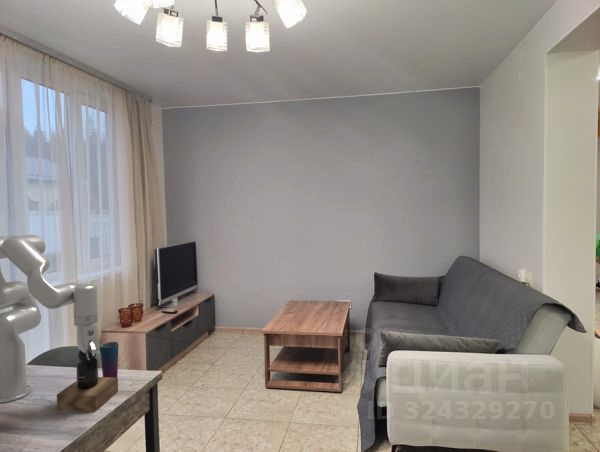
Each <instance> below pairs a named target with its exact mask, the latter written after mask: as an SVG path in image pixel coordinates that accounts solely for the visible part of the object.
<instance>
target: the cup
mask: <svg viewBox="0 0 600 452" xmlns="http://www.w3.org/2000/svg"><path fill="white" fill-rule="evenodd" d="M119 343H120V342H118V341H107V342H103V343H101V344H99V350H100V361H101V370H102V371H101V372H102V377H113V378H118V373H119V372H118V369H119V368H118V367H119Z"/></svg>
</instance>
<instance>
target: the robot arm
mask: <svg viewBox="0 0 600 452" xmlns="http://www.w3.org/2000/svg"><path fill="white" fill-rule="evenodd" d="M45 251H46V243H45V241H44V239H43V238H41V236H38V235H35V234H26V235H5V236H0V260H2V259H8V260H9V261H10V262H11V263H12V264H13V265H14V266H16V268H18V269H19V270H20V271H21V272H22V273H23V274H24V275H25V276H26V283H25V282H23V281H20V280H13V281H6V280H5V277H4V275H3V273H2V271H1V270H0V310H4V309H9V308H11V307H12V309H11V310H7V311H3V312H1V313H0V404H3V403H8V402H9V403H10V402H13V401H17V400H20V399H22V398H24V397H27V396H28V395H30V393H31V392H32V391H33V389H32V388H33V387H32V385H30V384H28V383H27V364H26V363H27V361H26V360H27V359H26V346H25V343H24V341H23V340H22V339H21V337H20V334H21V335H22V334H23V333H25V332H28V331H31V330H33V329H36V327H38V326H40V324H41V321H42V315H41V311H40V308H39V305H38V304H39V303H40V305H41V306H43V307H45V308H46V309H50V310H55V309H59V308H61V307H65V306H69V305H73V306H72V307H73V326H75V327H76V345H77V349H78V355H79V354H80V353H82V352H83V353H86V356H87V360H86V367H87V371H91V370H94V369H97V361H98V358H97V357H98V355H97V351H99V350H100V344H99V343H100V342H99V332H98V326H97V323H99V316H98V315H99V312H98V289H97V286H96V285H95V284H92V283H91V284H90V283H88V284H86V283H85V284H82V283H77V282H68V283H64V284H59V285H55V286H52V285H51V284H50V283H49V282H48V281H47V280H46V279H45V278H44V277H43V274H45V273H46V271H47V270H48V269H49V267H50V264H51V262H50V260H49V259H48V258H47V257H46V256H45V255H43V253H44V252H45ZM37 302H38V303H37ZM89 353H90V355H89ZM79 358H80V357H79V356H78V361H80V360H79Z"/></svg>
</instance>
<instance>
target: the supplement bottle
mask: <svg viewBox="0 0 600 452" xmlns="http://www.w3.org/2000/svg"><path fill="white" fill-rule="evenodd" d="M89 355H90V353H89ZM79 357H80V358H79ZM79 360H80V361H79ZM86 360H87V356H86V353H83V352H82V353H80V354H79V353H78V361H77V363H76V368H75V369H76V381H77V387H78V388H79V389H89V388H92V387H94V386H96V385H97V384H98V377H99V360H97V369H94V370H91V371H87V367H86Z"/></svg>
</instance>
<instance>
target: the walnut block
mask: <svg viewBox="0 0 600 452" xmlns="http://www.w3.org/2000/svg"><path fill="white" fill-rule="evenodd" d="M118 379H119V378H118V377H117V378H113V377H103V376H101V377H100V376H98V384H97V385H96V386H94V387H92V388H89V389H79V388H78V387H77V380H76V381H74V382H73V383H71V384H70V385H68V386H67V387H66V388H64V389H63V390H61V391H60V392H59V393H57V394H56V410H57V411H63V412H65V411H66V412H68V411H72V412H73V411H75V412H97V411H99V410H100V409H101V408H102V407H103V406H104V405H105V404H106V403H108V402H109V401H110V400H111V399H112V398H113V397H114V396H115V395H116V394H118V393H119V380H118Z"/></svg>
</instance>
